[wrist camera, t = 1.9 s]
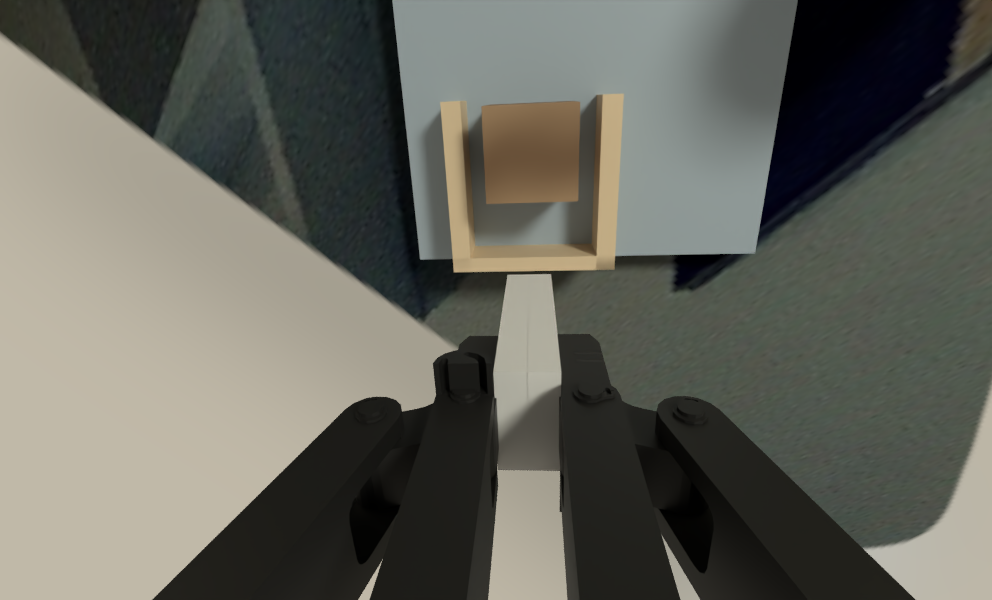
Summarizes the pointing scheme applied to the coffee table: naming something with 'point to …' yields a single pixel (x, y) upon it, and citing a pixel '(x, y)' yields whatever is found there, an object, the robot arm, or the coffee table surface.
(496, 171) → the walnut cube
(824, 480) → the coffee table surface
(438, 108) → the board
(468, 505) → the robot arm
